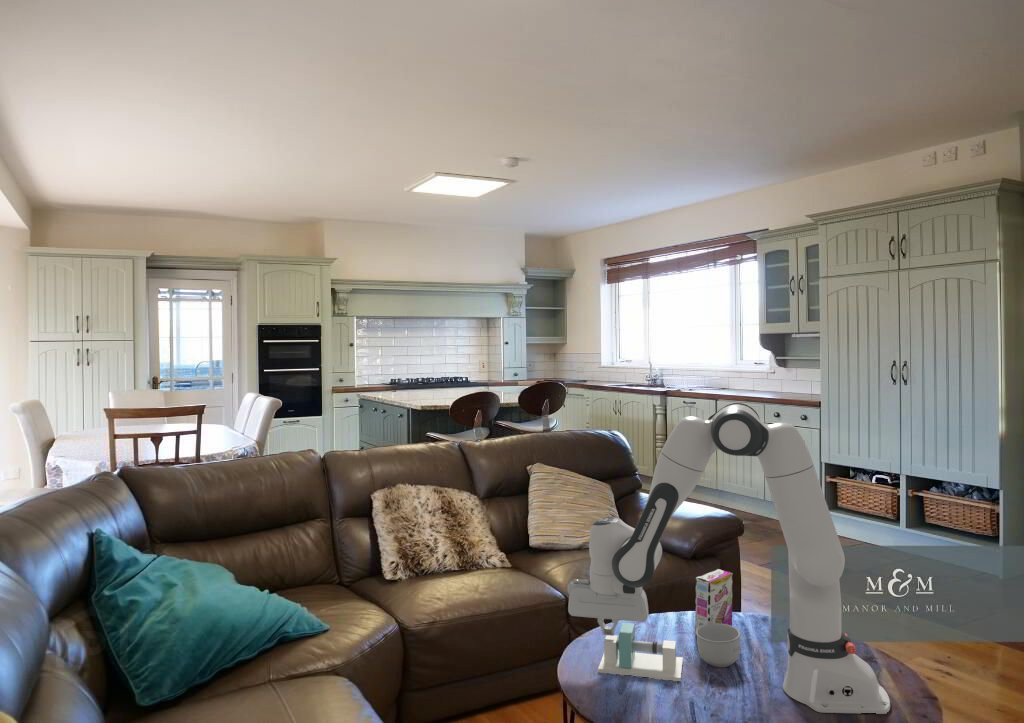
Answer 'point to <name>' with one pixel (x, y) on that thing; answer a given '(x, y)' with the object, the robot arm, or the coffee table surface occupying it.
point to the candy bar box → (714, 598)
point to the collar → (626, 645)
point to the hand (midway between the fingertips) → (608, 634)
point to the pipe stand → (643, 659)
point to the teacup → (718, 644)
